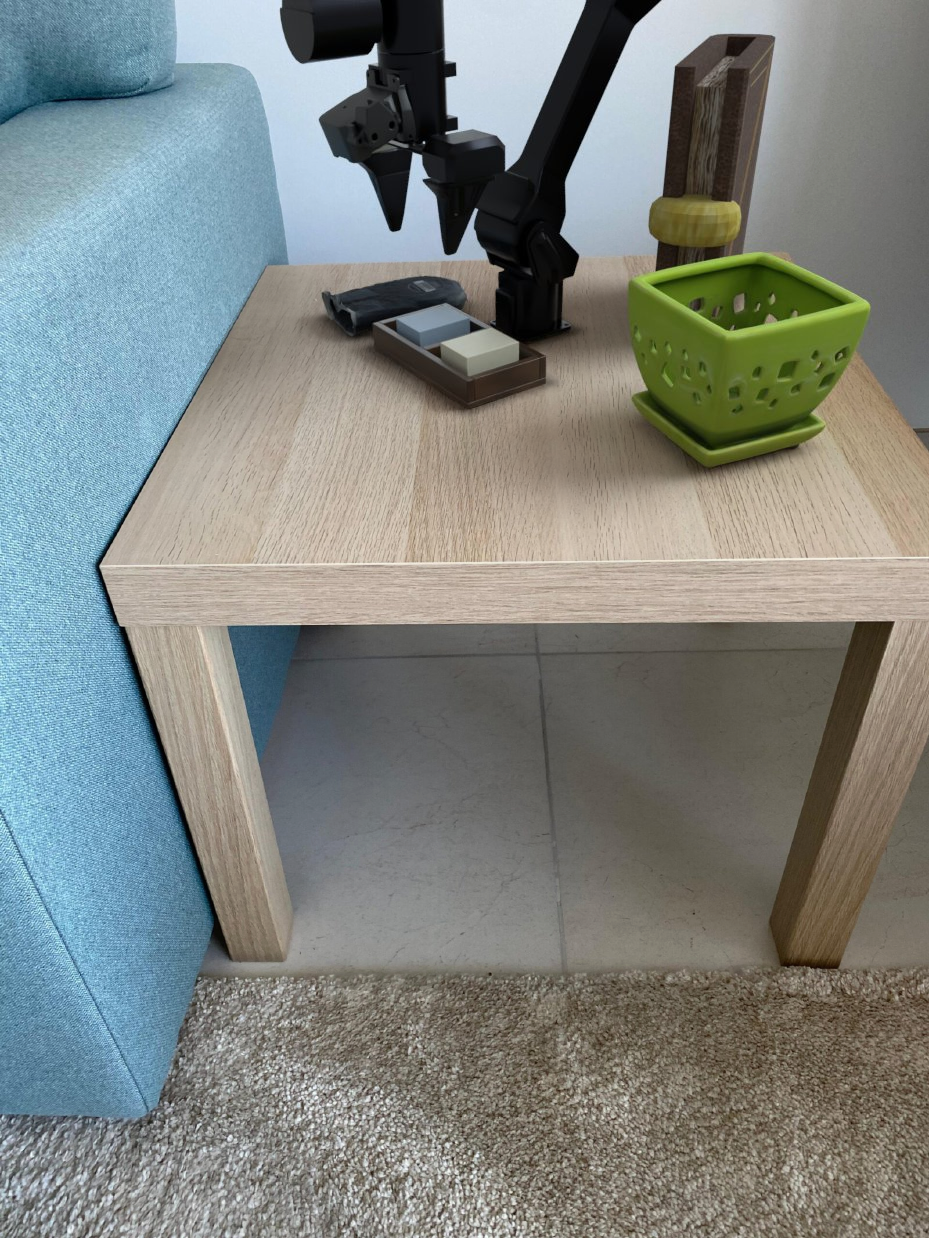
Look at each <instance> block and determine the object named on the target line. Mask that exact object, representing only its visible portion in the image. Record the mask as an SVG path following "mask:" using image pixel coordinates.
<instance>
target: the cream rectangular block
mask: <svg viewBox="0 0 929 1238" xmlns="http://www.w3.org/2000/svg"><path fill="white" fill-rule="evenodd" d="M441 360H443V361H445V362H446V363H448V364H450V365H451V366H453V367H455V368H456V369H458V370H459V371H461V372H463V373H464V374H466V375H468V376H469V377H470V376H472V375H475V374H478V373H481V372H484V371H487V370H491V369H494V368H497V367H500V366H503V365H506V364H509V363H513V362H516V361H519V342H518V341H516V339H515V340H514V339H512V338H510V337H508V336H506V335H505V334H503V333H501V332H499V331H497V329H496V330H495V329H493V328H489V329H486V330H482V331H479V332H475V333H472V334H469V335H465V336H462V337H458V338H455V339H452V340H448V341H445V342H441Z"/></svg>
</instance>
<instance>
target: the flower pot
mask: <svg viewBox="0 0 929 1238" xmlns="http://www.w3.org/2000/svg"><path fill="white" fill-rule="evenodd" d="M739 295H743V309H741V310H740V311H737V312H735V306H734V305H735V304H734V303H735V302H734V301H735V298H736V297H737V296H739ZM773 296H774V301H773ZM699 298H701V308H700V310H698V311H695V312H694V311H692V310H690V303H691V301H693V300H696V299H699ZM715 307H720V308H719V311H718V314H717V316H716V317H712V313H713V311H714V308H715ZM627 310H628V313H627V314H628V325H629V333H630V340H631V344H632V350H633V353H634V357H635V361H636V364H637V367H638V371H639V373H640V376H641V378H642V381H643V383H644V385H645V387H646V389H647V390H642V391H640V392H637V393H634V394H632V395H631V401H632V404H633V406H634V407H635V408H636V410H637V411H638V412H639V413H640V414H641V416H642V417H643V418H644V419H645V420H646V421H647V422H649V423H650V424H651V425H652V426H654V427H655V428H656V429H657V430H659V432H661V433H662V434H663V435H664V436H666V437H667V438H668V439H669V440H670V441H672V442H673V443H674V444H676V445H677V446H678V447H679V448H680V449H682V450H683V451H684V452H686V453H687V454H688V455H689V456H691V457H692V458H693V459H694V460H695V461H697V462H698V463H699V464H700V465H702V466H703V468H709V469H710V468H715V467H716V466H722V465H724V464H728V463H733V462H737V461H742V460H746V459H749V458H753V457H756V456H760V455H761V456H762V455H765V454H768V453H771V452H775V451H779V450H783V449H786V448H790V449H796V448H799V446H800V445H801V444H803V443H806V442H807V441H809V440H812V439H813V438H815V437H816V436H818V435H819V434H821V433H822V432H823V431H824V430H825V428H826V427H827V424H826V422H825V421H824V420H822V419H821V418H820V417H819V416H817V415H816V414H814V413H813V412H814V411H815V410H816V409H817V408H818V407H819V406H820V405H821V404H822V403H823V401H824V400H825V399H826V398H827V397H828V396H829V395H830V393H831V392H832V391H833V389H834V388H835V386H836V385H837V383H838V382H839V381H840V379H841V377H842V376H843V374H844V372H846V369H847V368H848V366H849V364H850V362H851V361H852V359H853V356H855V355H854V354H855V352H856V350H857V349H858V346H859V343H860V341H861V339H862V336H863V334H864V331H865V329H866V326H867V323H868V320H869V317H870V313H871V304H870V303H869V302H868V301H867V300H866V299H864V298H862V297H861V296H859V295H857V294H856V293H854V292H852V291H850V290H848V289H846V288H844V287H842V286H840V285H838V284H836V283H834V282H832V281H830V280H828V279H826V278H824V277H822V276H820V275H818V274H816V273H814V272H811V271H809V270H807V269H805V268H803V267H801V266H800V265H799V266H798V265H796V264H795V263H792V262H790V261H787V260H785V259H783V258H781V257H778V256H775V255H773V254H770V253H767V252H762V251H754V252H747V253H743V254H741V255H735V256H729V257H723V258H718V259H712V260H707V261H702V262H697V263H692V264H687V265H682V266H678V267H673V268H668V269H664V270H660V271H656V272H655V271H653V272H652V271H651V272H649V273H645V274H641V275H637V276H635V277H634V276H633V277H631V278H629V281H628V284H627ZM795 311H796V313H797V316H795V317H794V314H795ZM769 315H770V316H772V317H773V318H775V320H776V321H774V322H769V323H766V322H767V320H768V317H769ZM732 327H733V329H732ZM731 329H732V330H731ZM841 354H842V356H841ZM818 365H819V366H818Z"/></svg>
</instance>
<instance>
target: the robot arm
mask: <svg viewBox="0 0 929 1238" xmlns="http://www.w3.org/2000/svg"><path fill="white" fill-rule="evenodd" d="M662 1H663V0H585V3H584V5H583V9H582V11H581V14H580V16H579V19H578V20H577V23H576V25H575V28H574V30H573V32H572V34H571V36H570V39H569V42H568V44H567V46H566V49H565V51H564V53H563V56H562V58H561V60H560V63H559V64H558V68H557V70H556V72H555V75H554V76H553V80H552V82H551V84H550V86H549V88H548V91H547V93H546V96H545V98H544V100H543V103H542V105H541V107H540V109H539V112H538V114H537V116H536V119H535V121H534V124H533V125H532V128H531V131H530V134H529V136H528V138H527V140H526V142H525V144H524V147H523V150H522V152H521V153H520V156H519V157H518V159H517V160H515V162H514V163H513V164H512V165H510V166H509V168H508V169H506V145H505V143H504V142H502V140H501V139H500V138H499V136H498V135H495V134H492V133H488V132H484V131H481V130H477V129H473V128H472V129H465V130H460V131H458V130H459V117H458V116H456V115H452V114H449V111H448V82H447V78H455V77H457V62H456V61H451V60H447V55H446V54H447V53H446V30H445V29H446V28H445V3H444V2H445V0H281V7H280V8H279V17H280V24H281V29H282V32H283V37H284V40H285V43H286V45H287V47H288V50H289V52H290V53H291V55H292V57H293V58H294V59H295V61H296V62H298V63H299V64H301V65H306V64H312V63H313V64H314V63H320V62H328V61H336V60H342V59H343V60H344V59H351V58H358V57H365V56H367V55H370V53H371V52H372V51H373V49H374V47H375V45H376V55H377V62H374V63H369V64H368V65H367V67H368V68H367V69H366V71H365V79H366V86H365V87H364V88H362V89H361V90H359V91H358V92H356V93H353V94H350V95H349V96H348V97H346V98H345V99H343V100H342V101H340V102H338V103H337V104H336V105H334V106H333V107H331V108H330V109H328V110H327V111H325V112H324V113H322V114H321V115H320V116H319V117H318V122H319V123H318V124H319V125H320V127H321V129H322V132H323V134H324V136H325V139H326V142H327V143H328V146H329V148H330V151H331V153H332V156H334V158H336V159H338V158H342V159H345V160H347V161H348V162H349V163H351V164H357V165H359V166H360V167H361V168H362V169H364V170H365V172H366V173H367V175H368V178H369V180H370V182H371V185H372V187H373V189H374V191H375V195H376V197H377V200H378V203H379V206H380V209H381V211H382V213H383V216H384V219H385V222H386V225H387V227H388V230H389V232H392V233H396V232H400V231H401V230H402V226H403V223H404V217H405V212H406V211H405V210H406V205H407V204H406V203H407V197H408V190H409V183H410V175H411V170H412V169H411V168H412V161H413V154H417V155H420V156H421V165H422V167H423V169H424V171H425V173H426V176H427V177H426V178H422V182H423V184H424V185H425V186H426V187H427V188H428V189H429V190H430V192H432V193H433V194H434V195H435V198H436V205H437V214H438V221H439V223H438V224H439V228H440V229H439V230H440V238H441V243H442V249H443V253H444V255H445V256H452V255H455V254H456V253H457V252H458V250H459V248H460V245H461V243H462V240H463V237H464V235H465V233H466V231H467V228H468V226H469V223H470V221H471V219H472V217H473V215H474V212H475V210H477V211H476V215H475V217H474V220H473V230H474V231H475V235H476V240H477V242H478V243H479V245H480V247H481V248H482V249H483V250H484V251H485V253H486V257H487V260H488V262H489V264H490V265H492V266H496V267H498V268H500V269H502V270H501V271H498V272H497V286H498V287H497V288H496V289H495V291H494V292H495V293H494V301H495V302H494V306H495V307H494V309H495V310H494V313H495V314H494V316H495V319H492V320H490V321H489V326H491V327H493V328H495V329H496V330H498V331H500V332H502V333H504V334H506V335H508V336H510V337H512V338H514V339H515V340H517V341H519V342H521V343H523V344H530V343H533V342H535V341H538V340H543V339H546V338H549V337H552V336H555V335H559V334H561V333H565V332H568V331H570V330H572V324H571V323H569V322H567V321H565V320H563V306H564V305H563V304H564V303H563V302H564V281H565V280H566V279H569V278H572V277H574V276H575V273H576V270H577V267H578V263H579V260H580V254H579V253H578V252H577V250H576V249H575V248H574V247H573V246H572V245H571V244H570V242H568V241H567V240H566V238H564V237H563V235H561V232H562V228H563V225H564V222H565V219H566V215H567V199H566V196H567V194H566V193H567V192H566V181H567V179H568V175H569V173H570V170H571V169H572V167H573V164H574V162H575V159H576V157H577V155H578V153H579V151H580V148H581V146H582V144H583V142H584V139H585V137H586V135H587V133H588V131H589V128H590V126H591V124H592V122H593V119H594V117H595V115H596V112H597V110H598V108H599V105H600V103H601V101H602V99H603V97H604V94H605V93H606V90H607V87H608V86H609V83H610V81H611V79H612V77H613V74H614V72H615V69H616V68H617V66H618V63H619V60H620V58H621V56H622V54H623V52H624V49H625V47H626V45H627V43H628V40H629V38H630V36H631V33H632V32H633V30H634V28H635V27H636V25H637V24H638V23H639V22H641V20H642V19H644V18H645V17H646V16H647V15H648V14H649V13H650V12H651V11H652V10H654V8H656V6H658V4H660V3H661V2H662ZM453 131H454V132H453ZM456 131H457V132H456ZM448 132H449V133H448Z"/></svg>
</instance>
